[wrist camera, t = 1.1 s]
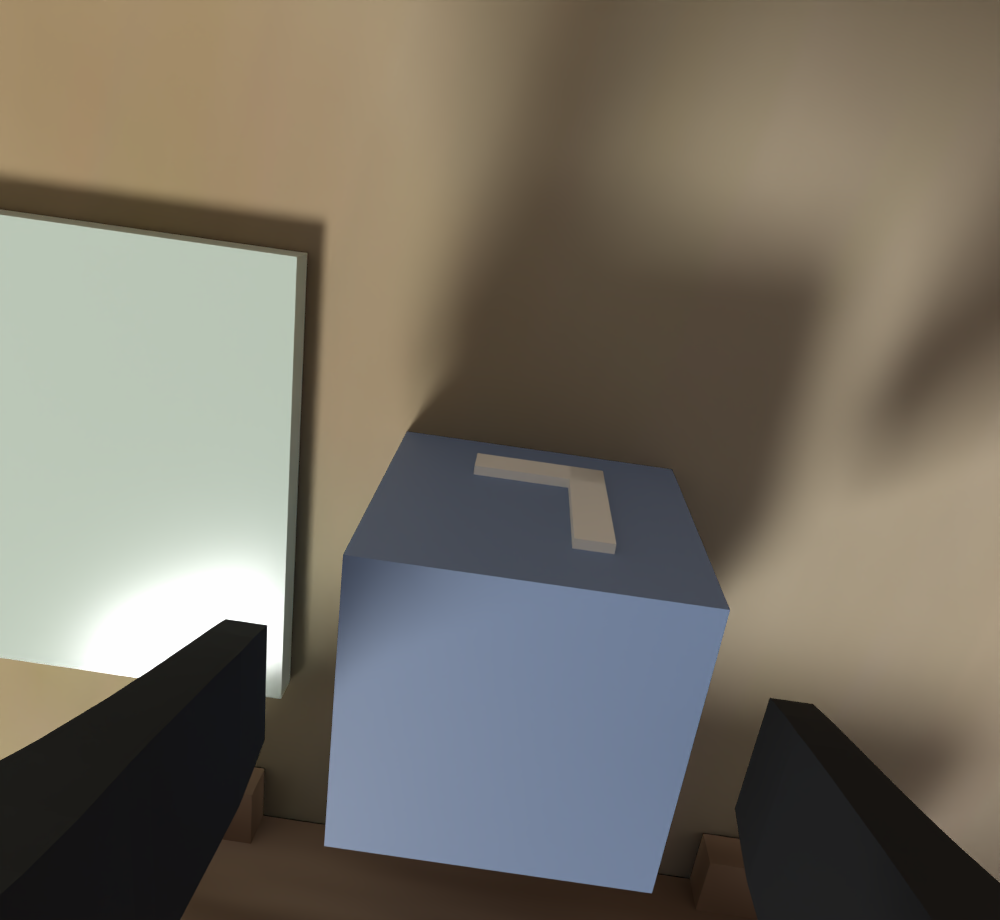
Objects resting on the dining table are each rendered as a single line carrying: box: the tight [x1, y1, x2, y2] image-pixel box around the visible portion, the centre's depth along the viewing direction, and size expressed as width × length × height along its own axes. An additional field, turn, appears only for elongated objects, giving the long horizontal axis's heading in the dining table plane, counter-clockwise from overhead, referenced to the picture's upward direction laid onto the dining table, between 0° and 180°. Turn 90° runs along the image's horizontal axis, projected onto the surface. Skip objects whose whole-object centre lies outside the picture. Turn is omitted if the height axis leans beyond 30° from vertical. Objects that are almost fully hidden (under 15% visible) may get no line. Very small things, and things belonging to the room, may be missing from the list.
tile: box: [0, 209, 307, 699], centre depth 15 cm, size 9×9×1 cm
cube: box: [324, 432, 730, 893], centre depth 13 cm, size 5×5×5 cm
